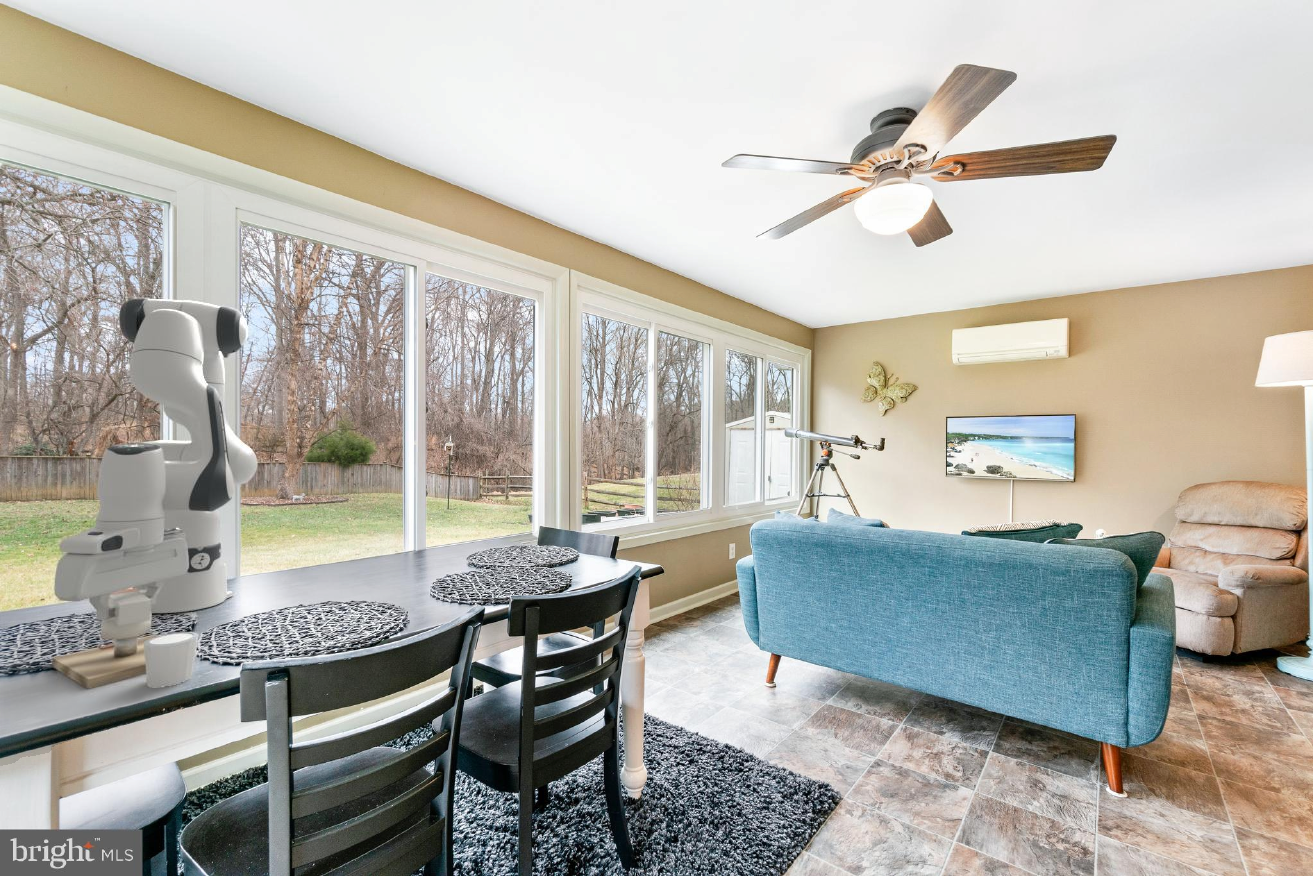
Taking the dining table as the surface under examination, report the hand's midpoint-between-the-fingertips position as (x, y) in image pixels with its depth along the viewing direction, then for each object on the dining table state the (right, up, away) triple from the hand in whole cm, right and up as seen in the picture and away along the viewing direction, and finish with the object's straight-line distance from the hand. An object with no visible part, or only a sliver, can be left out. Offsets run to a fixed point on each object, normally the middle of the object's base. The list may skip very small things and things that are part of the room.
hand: (127, 612), depth 98 cm
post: (0, -7, 0) cm, 7 cm away
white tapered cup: (+13, -10, -6) cm, 17 cm away
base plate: (0, -9, 0) cm, 9 cm away
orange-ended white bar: (0, -4, 0) cm, 4 cm away
